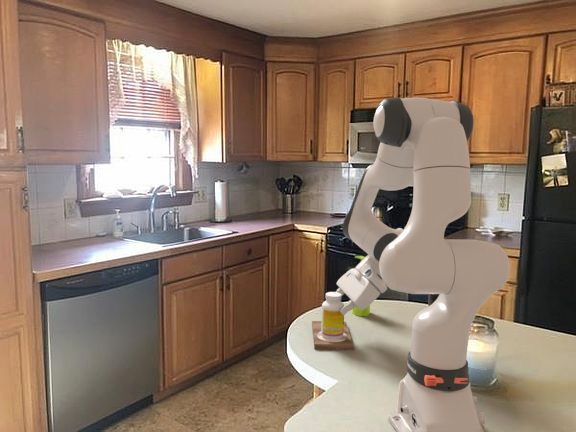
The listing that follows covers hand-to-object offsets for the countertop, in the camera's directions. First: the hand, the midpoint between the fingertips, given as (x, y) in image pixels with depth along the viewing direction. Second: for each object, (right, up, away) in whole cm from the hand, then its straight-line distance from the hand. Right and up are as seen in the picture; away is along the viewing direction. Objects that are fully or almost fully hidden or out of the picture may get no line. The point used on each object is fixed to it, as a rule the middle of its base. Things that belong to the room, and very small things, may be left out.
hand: (336, 307), depth 138 cm
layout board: (-1, -10, +4) cm, 11 cm away
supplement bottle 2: (+37, -8, +22) cm, 44 cm away
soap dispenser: (+11, -7, +26) cm, 29 cm away
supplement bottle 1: (-1, -9, +1) cm, 9 cm away
